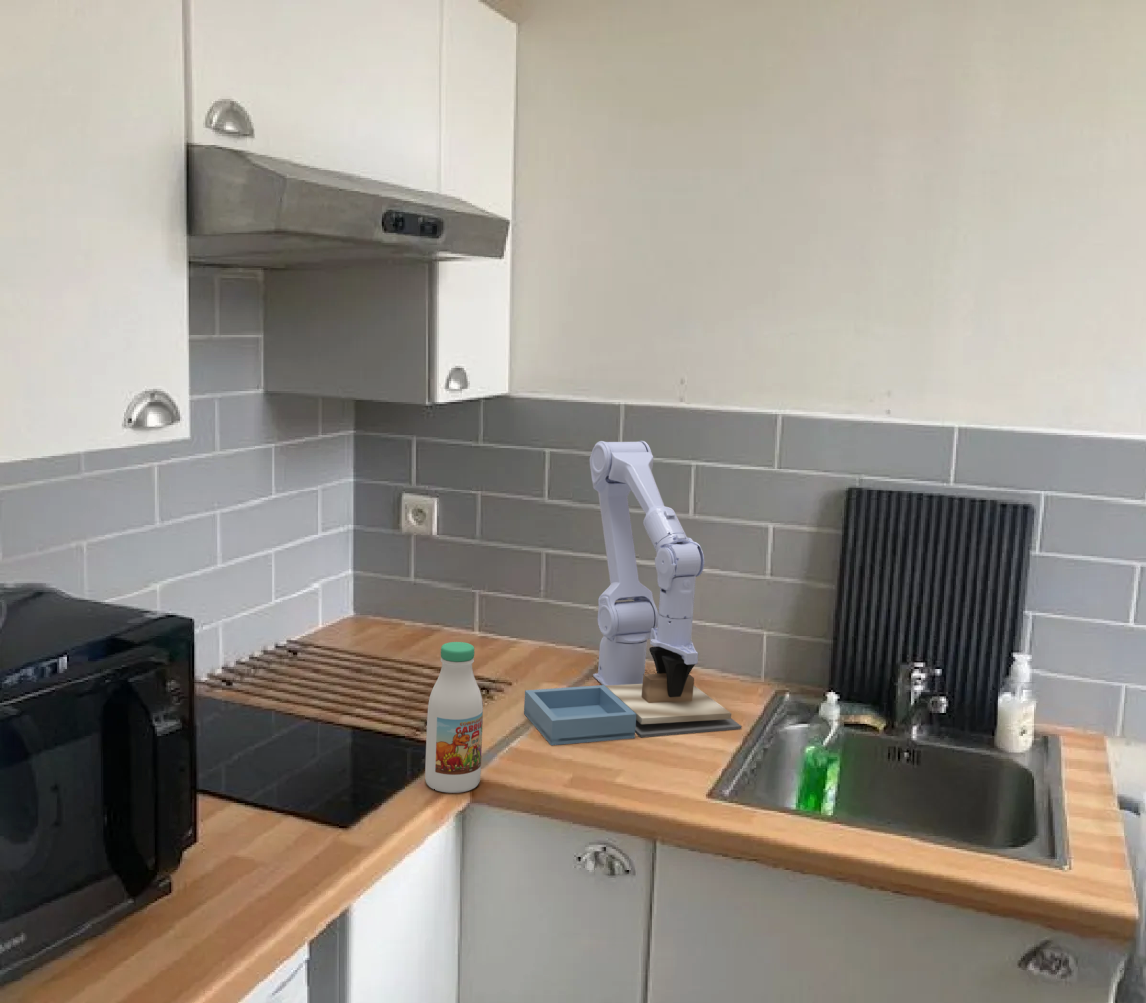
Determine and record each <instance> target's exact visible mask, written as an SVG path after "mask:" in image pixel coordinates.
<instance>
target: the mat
mask: <svg viewBox="0 0 1146 1003" xmlns="http://www.w3.org/2000/svg"><path fill="white" fill-rule="evenodd" d="M735 730H742V725H741V724H740V723H738V722H737V721H736V720H734V719H733V718H732V717H731V719H723V720H706V721H689V722H672V723H655V724H640V723H639V722H638V721H637V720H636V727H635V735H637V736H638V737H639V738H640V739H641V738H652V737H665V736H677V735H687V734H699V733H709V732H710V733H712V732H722V731H723V732H726V731H735Z"/></svg>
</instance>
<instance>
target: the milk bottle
mask: <svg viewBox="0 0 1146 1003" xmlns="http://www.w3.org/2000/svg"><path fill="white" fill-rule="evenodd" d="M474 659H475V647H474V645H472V644H471V643H468V642H463V641H451V642H450V641H449V642H446V643H444V644H442V645H441V648H440V662H441V669H440V672H439V675H438V678H437V679H436V682H435V683H434V686H433V688H432V690H431V692H430V695H429V699H428V700H429V701H428V704H427V705H428V706H427V718H426V720H427V721H426V737H425V738H426V740H425V742H426V743H425V765H424V766H425V769H424V770H425V771H424V775H425V776H424V778H425V779H424V780H425V783H426V785H427V786H428V787H429V788H431V789H432V790H434V789H435V791H437V792H440V793H441V792H442V793H447V794H448V793H449V794H452V793H453V794H459V793H464V792H468V791H471V790H474V789H475V788H476V787H477V786H478V785H479V784H480V781H481V772H482V770H481V768H482V751H483V750H482V748H483V746H482V745H483V744H482V743H483V722H484V721H483V718H484V716H483V710H484V709H483V706H484V705H483V697H482V693H481V691H480V687H479V685H478V683H477V681H476V678H475V674H474V671H473V663H474V662H475V660H474Z"/></svg>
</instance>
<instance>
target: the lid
mask: <svg viewBox="0 0 1146 1003" xmlns="http://www.w3.org/2000/svg"><path fill="white" fill-rule="evenodd" d="M605 686H606V687H607V688H608V689H609V690H610V691H611V692H612V693H613V694H615V695H616V696H617V697H618V698H619V699H620V700H621V701H622V702H623V703H625V704H626V705H627V706H628V707H629V708H630V709H631V710H632V711H633V712H635V713H636V720H637V721H638V722H639V723H640V724H655V723H672V722H689V721H706V720H723V719H731V718H732V712H731V711H730V710H728V709H726V707H724V706H722V705H721V704H720V703H718V702H717V701H716V700H714V699H713V698H712V697H710V695H708V694H706V693H705V692H704V691H703V690H701V689H700V688H698V687H697V686H695V677H693V676H692V675H691V674H689V675H688V678H687V680H686V683H685V686H684V689H683V692H682V695H681V697H669V696H668V691H667V675H666V673H661V674H657V673H645V674H643V684H626V685H605Z"/></svg>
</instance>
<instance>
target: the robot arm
mask: <svg viewBox="0 0 1146 1003" xmlns="http://www.w3.org/2000/svg"><path fill="white" fill-rule="evenodd" d="M653 465H654V455H653V453H652V449H651V448H650V445H649V444H648V443H647V442H646V441H645V440H639V441H604V440H600V441H597V442H596V443H595V444H594V447H593V448H592V451H591V454H590V456H589V468H590V474H591V482H592V488H593V490H595V491H597V493H598V500H599V509H600V517H601V523H602V533H603V537H604V538H603V540H604V545H605V554H606V559H607V560H606V561H607V569H608V576H609V583H610V585H609V586H608V587H607V588H606V589H605V590H604V591H603V592H602V593H601V594H600V595H599V597H598V599H597V600H598V603H597V604H598V609H597V610H598V611H597V625H598V628H599V631H600V633H601V635H603V636H602V638H601V640H600V641H599V653H598V670H597V673H593V674H592V676H593V678H594V679H595V680H597V681H598V682H599V683H600V684H601V685H626V684H643V674H646V672H645V671H646V659H647V647H648V646H647V645H648V643H647V641H648V640H650V641H649V642H650V643H649V644H650V645H651V647H649V652H650V654H651V657H652V659H653V662H654V666H655V669H656V674H661V673H666V675H667V691H668V696H669V697H681V695H682V692H683V689H684V686H685V683H686V680H687V678H688V675H690V673H691V671H692V670H693V669H694V667H695V666H696V665H698V664H699V663H698V661H699V660H698V659H699V652H698V651H697V650H696V648H695V645H694V643H693V641H692V634H693V633H692V632H693V623H694V622H693V619H694V605H695V595H696V594H695V593H696V580H697V579H696V577H699V576H701V574H702V572H704V568H705V555H704V552H703V549H702V547H701V545H700V544H699V543H698V542H696V541H694V540H693V538H691V537H688V536H687V533H686V532H685V530H684V528H683V526H682V524H681V522H680V520H679V518H678V516H677V514H676V512H675V510H674V509H673V508H671V507H668V506H665V503H664V500H663V498H662V496H661V493H660V490H659V488H658V485H657V483H656V480H655V477H654V474H653V467H654V466H653ZM630 492H632V494H633V495H634V497H635V499H636V500H637V502H638V504H639V505H640V507H641V509H642V510H643V512H644V513H645V516H644V518H643V521H642V523H643V524H642V525H643V527H644V529H645V532H646V533H647V536H648V537H649V539H650V540H649V541H650V542H651V544H652V546H653V548H654V550H655V553H656V555H655V556H656V557H654V566H655V570H656V574H657V579H656V580H657V581H656V582H657V586H658V587H659V600H658V601H659V603H658V608H657V605H656V603H655V601H654V597H653V596H654V595H653V591H652V590H651V589H649V588H648V587H647V586H645V585H644V584H643V583H641V582H640V579H639V578H640V577H639V571H638V565H637V557H636V550H635V544H634V537H633V536H634V535H633V530H632V529H633V528H632V521H631V515H630V507H629V506H630V505H629V500H628V497H629V495H630ZM626 600H627V601H626ZM616 601H617V602H616Z"/></svg>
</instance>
